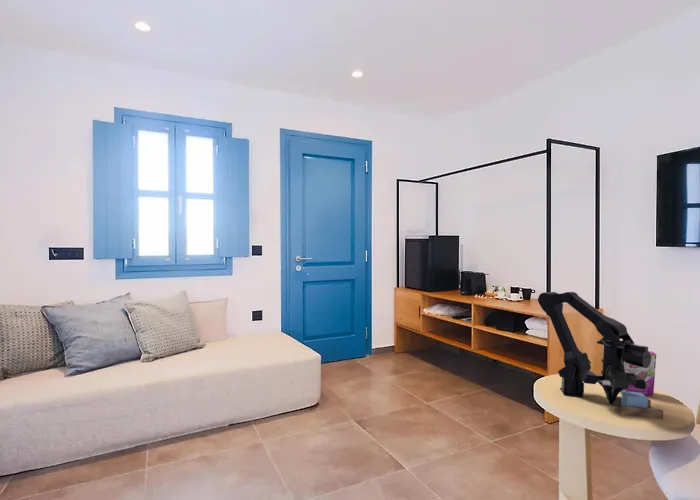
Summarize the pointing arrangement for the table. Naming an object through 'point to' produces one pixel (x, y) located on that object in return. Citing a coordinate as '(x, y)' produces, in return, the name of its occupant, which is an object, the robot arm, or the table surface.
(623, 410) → the brown rails
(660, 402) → the table surface
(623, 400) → the block
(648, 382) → the candy bar box
